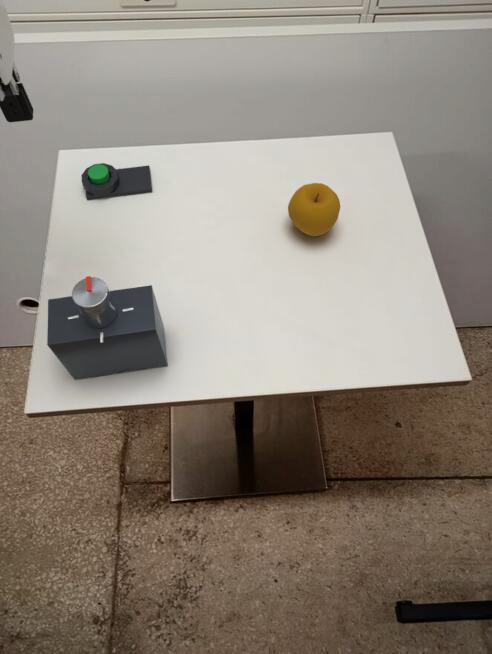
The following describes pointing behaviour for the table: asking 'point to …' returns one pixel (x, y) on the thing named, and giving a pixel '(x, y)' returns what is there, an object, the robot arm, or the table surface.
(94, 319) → the program dial
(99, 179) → the button
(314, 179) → the table surface
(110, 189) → the button block
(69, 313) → the dial panel
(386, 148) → the table surface
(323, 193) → the apple
